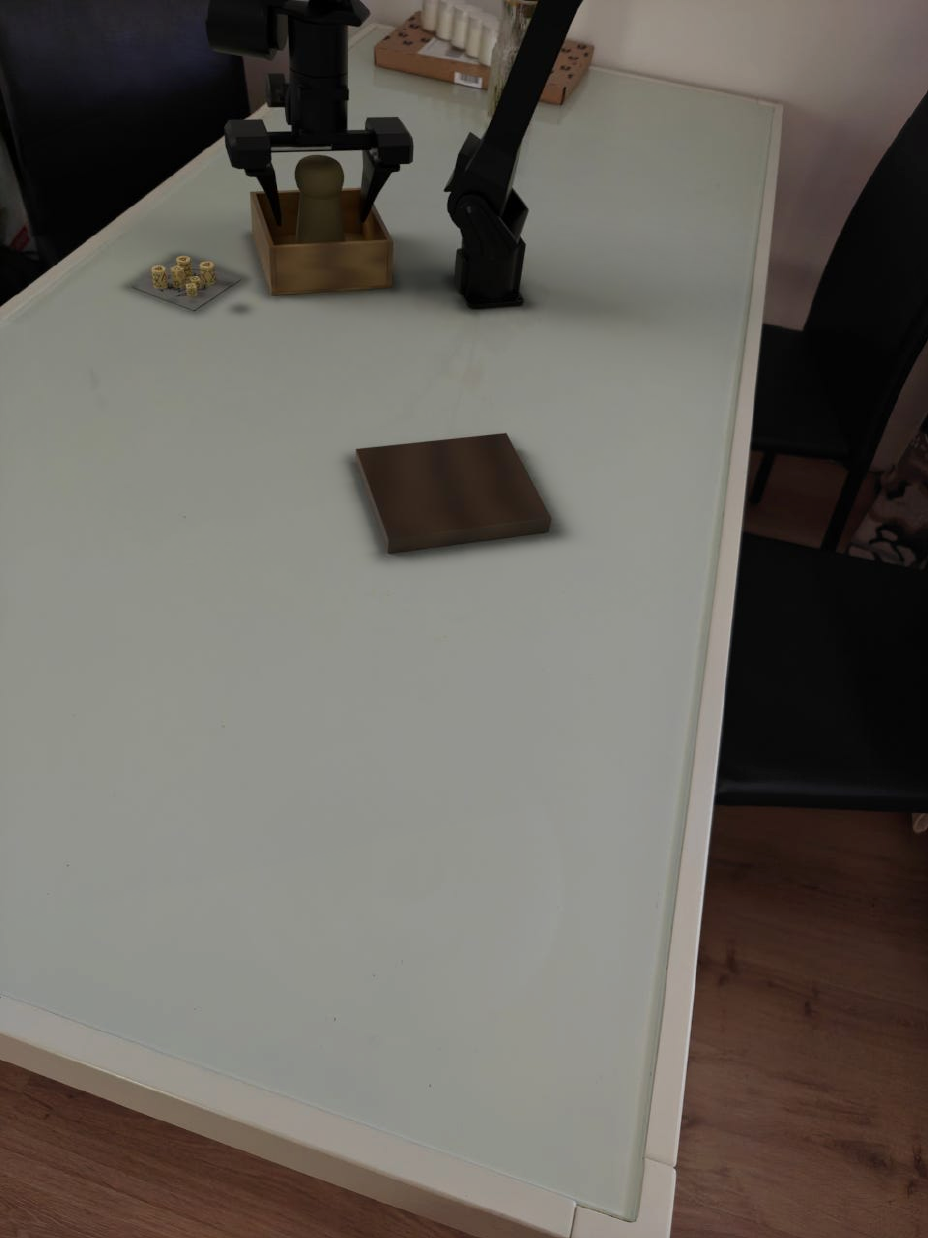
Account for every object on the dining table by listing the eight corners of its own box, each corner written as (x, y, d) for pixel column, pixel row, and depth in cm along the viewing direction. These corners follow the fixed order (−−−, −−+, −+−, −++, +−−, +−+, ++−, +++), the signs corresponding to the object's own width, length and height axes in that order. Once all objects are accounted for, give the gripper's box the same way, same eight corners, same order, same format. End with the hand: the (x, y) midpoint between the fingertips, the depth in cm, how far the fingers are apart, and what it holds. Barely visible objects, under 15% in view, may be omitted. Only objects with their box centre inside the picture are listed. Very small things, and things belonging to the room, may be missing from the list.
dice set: (150, 286, 105) (148, 269, 103) (181, 267, 108) (179, 250, 107) (189, 301, 103) (187, 283, 102) (219, 281, 107) (218, 264, 105)
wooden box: (364, 231, 118) (365, 186, 114) (391, 287, 109) (393, 241, 105) (252, 236, 114) (249, 191, 110) (271, 295, 106) (268, 247, 102)
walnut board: (504, 445, 91) (506, 432, 90) (549, 531, 84) (551, 518, 83) (355, 462, 88) (355, 448, 87) (387, 553, 80) (388, 539, 79)
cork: (294, 244, 113) (290, 145, 105) (347, 247, 114) (348, 149, 106) (292, 271, 109) (288, 169, 101) (347, 273, 110) (348, 173, 102)
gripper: (391, 39, 105) (386, 187, 116) (211, 39, 100) (224, 193, 111) (418, 78, 98) (410, 231, 109) (226, 79, 93) (238, 240, 104)
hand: (320, 222), depth 108 cm, fingers open, 9 cm apart
